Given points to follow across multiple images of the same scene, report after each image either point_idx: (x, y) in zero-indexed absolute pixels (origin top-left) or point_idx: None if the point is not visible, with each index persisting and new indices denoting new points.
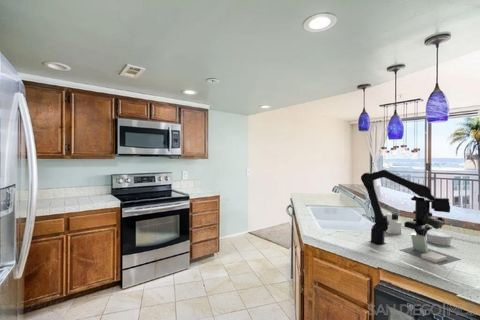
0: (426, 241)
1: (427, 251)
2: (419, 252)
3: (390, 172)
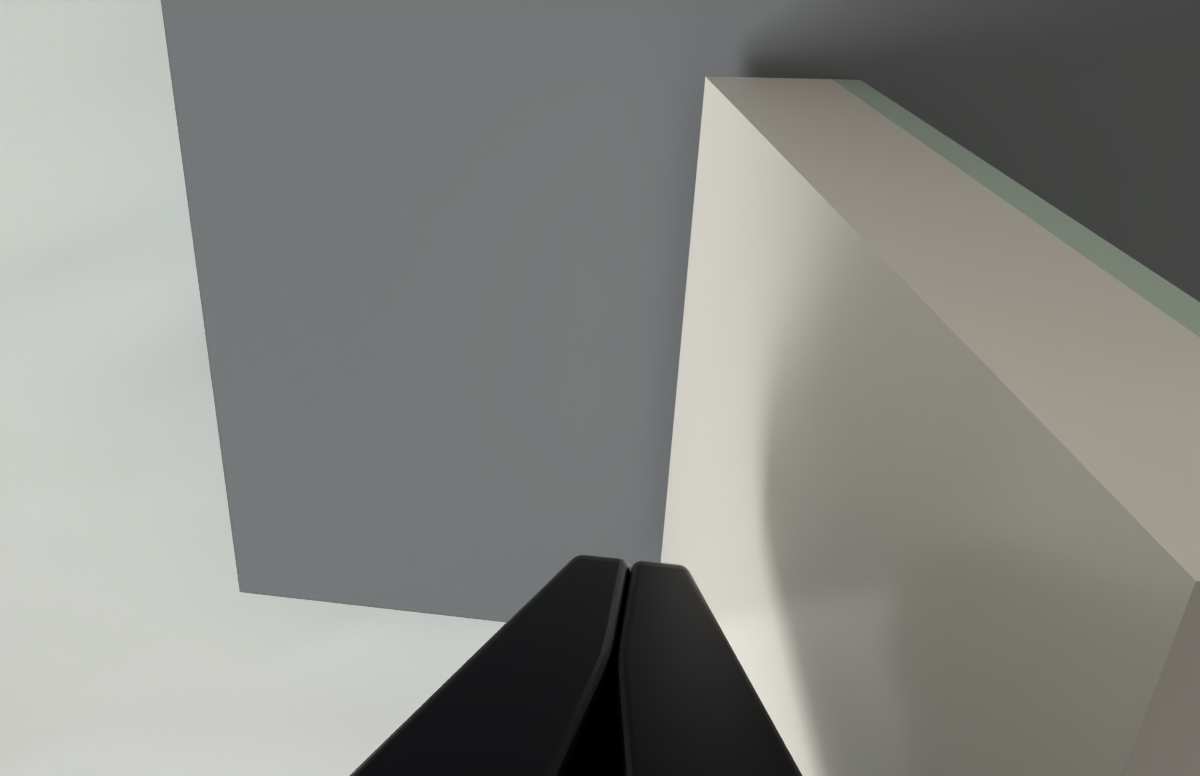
0: (950, 291)
1: (757, 86)
2: None
3: None
